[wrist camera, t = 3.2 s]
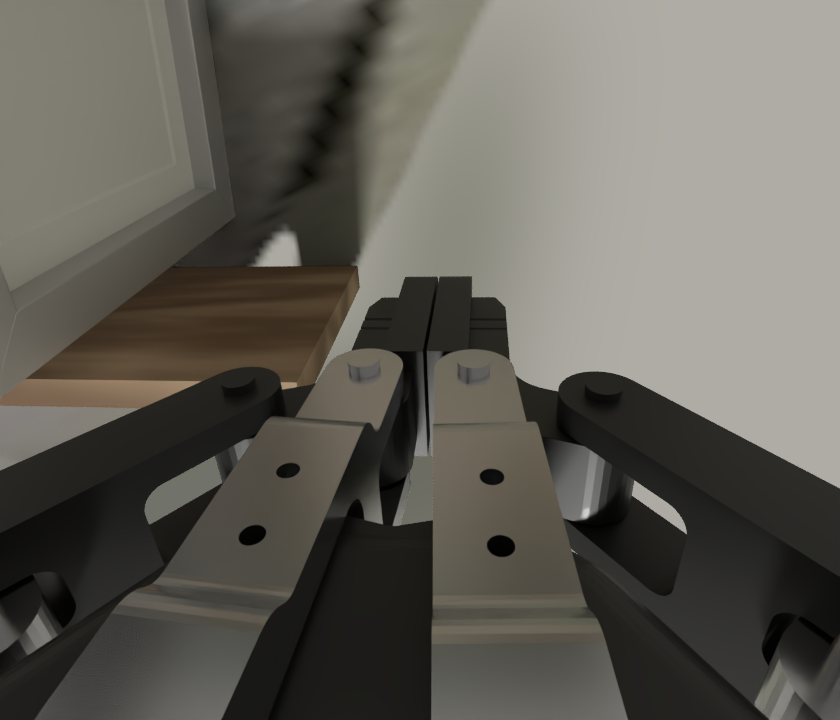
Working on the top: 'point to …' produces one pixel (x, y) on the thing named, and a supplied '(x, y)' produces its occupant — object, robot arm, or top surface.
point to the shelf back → (198, 335)
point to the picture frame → (100, 162)
